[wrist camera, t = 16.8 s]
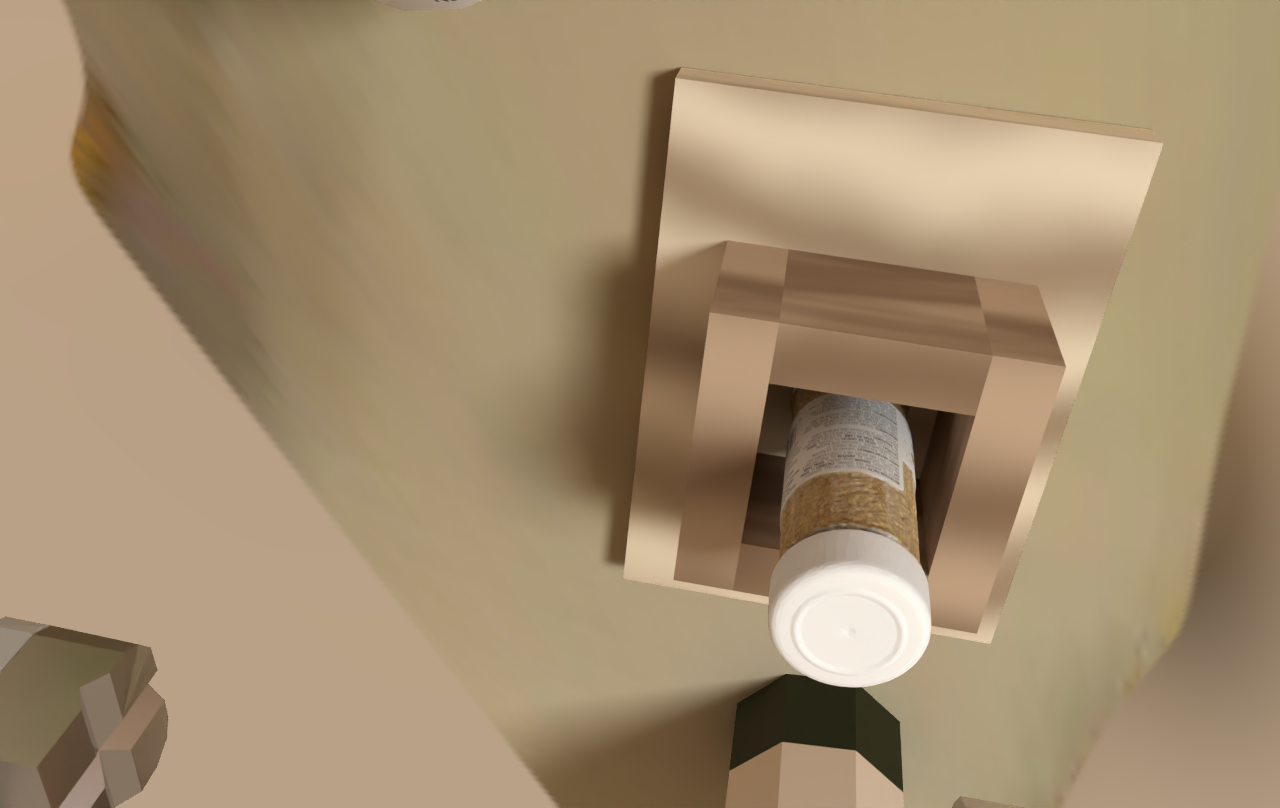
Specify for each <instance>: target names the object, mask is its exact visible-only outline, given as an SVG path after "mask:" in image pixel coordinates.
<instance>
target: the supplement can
mask: <svg viewBox="0 0 1280 808" xmlns="http://www.w3.org/2000/svg"><path fill="white" fill-rule="evenodd" d="M376 1H379V2H381V3H384V4H387V5H390V6H393V7H396V8H398V9H401V10H438V9H464V8H466V7H469V6H471V5H473V4H475V3H478V2H480V1H482V0H376Z"/></svg>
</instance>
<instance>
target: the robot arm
mask: <svg viewBox="0 0 1280 808" xmlns="http://www.w3.org/2000/svg"><path fill="white" fill-rule="evenodd" d="M156 671H157V667H156V664H155V661H154V657H153V654H152V650H151V648H150V647H147V646H143V645H138V644H133V643H129V642H124V641H120V640H115V639H110V638H106V637H101V636H97V635H92V634H88V633H83V632H78V631H73V630H69V629H64V628H60V627H55V626H51V625H45V624H40V623H35V622H29V621H25V620H20V619H15V618H10V617H4V618H2V619H0V808H115V807H116V806H118V805H119V804H121V803H123V802H124V801H126V800H128V799H129V798H131V797H133V796H134V795H136V794H138V793H139V792H141V791H142V790H143V788H144V787H145V785H146V783H147V782H148V780H149V779H150V777H151V775H152V774H153V772H154V771H155V769H156V767H157V765H158V762H159V759H160V757H161V754H162V751H163V748H164V745H165V742H166V739H167V727H168V715H167V709H166V705H165V700H164V699H163V698H162V697H161V696H160V695H159V694H158V693H157V692H156V691H155V690H154V689H153V688H152V687H151V686H150V685H149V684H148V683H149V681H150V680H151V679H152V677H153V676H154V674H155V673H156ZM952 808H1024V807H1019V806H1013V805H1007V804H1001V803H995V802H990V801H984V800H978V799H972V798H967V797H961V796H960V797H959V798H958V799H957V800H956V801H955V802H954V804H953V807H952Z"/></svg>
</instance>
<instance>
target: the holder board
mask: <svg viewBox="0 0 1280 808" xmlns="http://www.w3.org/2000/svg"><path fill="white" fill-rule="evenodd" d="M1163 144H1164V143H1163V142H1162V141H1161V139H1160V138H1159V137H1158V136H1157V134H1156V133H1155V132H1154V131H1153V130H1151V129H1143V128H1136V127H1128V126H1121V125H1113V124H1106V123H1098V122H1091V121H1083V120H1075V119H1068V118H1060V117H1053V116H1045V115H1038V114H1030V113H1023V112H1015V111H1007V110H1000V109H992V108H985V107H977V106H970V105H962V104H955V103H947V102H940V101H932V100H924V99H917V98H909V97H902V96H894V95H887V94H879V93H872V92H864V91H856V90H849V89H841V88H834V87H826V86H819V85H811V84H804V83H796V82H789V81H781V80H773V79H766V78H758V77H751V76H743V75H736V74H728V73H721V72H713V71H706V70H698V69H690V68H683V67H681V69H680V71H679V72H678V74H677V76H676V78H675V87H674V97H673V107H672V116H671V126H670V135H669V145H668V154H667V164H666V174H665V183H664V193H663V202H662V212H661V221H660V231H659V241H658V250H657V260H656V269H655V279H654V289H653V298H652V308H651V317H650V327H649V336H648V346H647V356H646V365H645V375H644V384H643V394H642V404H641V413H640V423H639V432H638V442H637V451H636V461H635V471H634V480H633V490H632V499H631V509H630V518H629V528H628V538H627V547H626V557H625V566H624V576H623V579H629V580H634V581H640V582H645V583H651V584H657V585H662V586H668V587H674V588H679V589H685V590H690V591H696V592H702V593H707V594H713V595H719V596H724V597H730V598H735V599H741V600H747V601H752V602H758V603H764V604H769V591H770V581H771V577H772V573H773V571H774V568H775V566H776V564H777V563H778V560H779V550H780V537H781V530H780V514H781V504H782V495H783V484H784V472H785V461H786V450H787V440H788V433H789V429H790V427H791V422H792V410H791V408H790V397H791V390H792V387H795V388H801V389H807V390H814V391H820V392H826V393H833V394H839V395H845V396H851V397H858V398H864V399H870V400H877V401H883V402H889V403H896V404H902V405H908V406H909V410H908V421H909V429H910V431H911V436H912V443H913V454H914V466H915V479H916V490H915V501H916V511H917V514H916V516H917V527H918V539H919V555H920V564H921V566H922V569H923V571H924V573H925V575H926V578H927V582H928V587H929V597H930V608H931V633H932V634H938V635H944V636H949V637H955V638H960V639H966V640H972V641H977V642H983V643H988V644H991V641H992V638H993V635H994V632H995V629H996V626H997V623H998V621H999V618H1000V615H1001V612H1002V609H1003V606H1004V603H1005V600H1006V597H1007V595H1008V592H1009V589H1010V586H1011V583H1012V580H1013V577H1014V574H1015V571H1016V569H1017V566H1018V563H1019V560H1020V557H1021V554H1022V551H1023V548H1024V545H1025V542H1026V540H1027V537H1028V534H1029V531H1030V528H1031V525H1032V522H1033V519H1034V516H1035V514H1036V511H1037V508H1038V505H1039V502H1040V499H1041V496H1042V493H1043V490H1044V488H1045V485H1046V482H1047V479H1048V476H1049V473H1050V470H1051V467H1052V464H1053V462H1054V459H1055V456H1056V453H1057V450H1058V447H1059V444H1060V441H1061V438H1062V436H1063V433H1064V430H1065V427H1066V424H1067V421H1068V418H1069V415H1070V412H1071V410H1072V407H1073V404H1074V401H1075V398H1076V395H1077V392H1078V389H1079V386H1080V384H1081V381H1082V378H1083V375H1084V372H1085V369H1086V366H1087V363H1088V360H1089V358H1090V355H1091V352H1092V349H1093V346H1094V343H1095V340H1096V337H1097V334H1098V331H1099V329H1100V326H1101V323H1102V320H1103V317H1104V314H1105V311H1106V308H1107V305H1108V303H1109V300H1110V297H1111V294H1112V291H1113V288H1114V285H1115V282H1116V279H1117V277H1118V274H1119V271H1120V268H1121V265H1122V262H1123V259H1124V256H1125V253H1126V251H1127V248H1128V245H1129V242H1130V239H1131V236H1132V233H1133V230H1134V227H1135V225H1136V222H1137V219H1138V216H1139V213H1140V210H1141V207H1142V204H1143V201H1144V199H1145V196H1146V193H1147V190H1148V187H1149V184H1150V181H1151V178H1152V175H1153V173H1154V170H1155V167H1156V164H1157V161H1158V158H1159V155H1160V152H1161V149H1162V147H1163Z"/></svg>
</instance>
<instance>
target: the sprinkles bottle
mask: <svg viewBox="0 0 1280 808" xmlns="http://www.w3.org/2000/svg"><path fill="white" fill-rule="evenodd" d="M790 408H791V410H792V422H791V427H790V429H789V433H788V440H787V450H786V461H785V472H784V484H783V495H782V504H781V514H780V530H781V537H780V550H779V560H778V563H777V564H776V566H775V568H774V571H773V573H772V577H771V581H770V591H769V605H768V626H769V631H770V636H771V639H772V641H773V644H774V645H775V647H776V649H777V650H778V652H779V653H780V655H781V656H782V657H783V658H784V659H785V660H786V662H787V663H788V664H790V665H791V666H792V667H793V668H795V669H796V670H797V671H799V672H800V673H802V674H804V675H806V676H807V677H809V678H812V679H814V680H816V681H819V682H822V683H825V684H830V685H835V686H841V687H867V686H873V685H877V684H881V683H884V682H887V681H890V680H892V679H894V678H896V677H898V676H900V675H902V674H903V673H905V672H906V671H907V670H909V669H910V668H911V667H912V666H914V664H915V663H916V662H917V661H918V660H919V659H920V657H921V656H922V655H923V653H924V651H925V649H926V647H927V645H928V642H929V639H930V634H931V608H930V597H929V587H928V582H927V578H926V575H925V573H924V571H923V569H922V566H921V564H920V555H919V539H918V527H917V516H916V514H917V511H916V501H915V490H916V479H915V466H914V454H913V443H912V436H911V431H910V429H909V421H908V410H909V406H908V405H902V404H896V403H889V402H883V401H877V400H870V399H864V398H858V397H851V396H845V395H839V394H833V393H826V392H820V391H814V390H807V389H801V388H795V387H792V390H791V397H790Z"/></svg>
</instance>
